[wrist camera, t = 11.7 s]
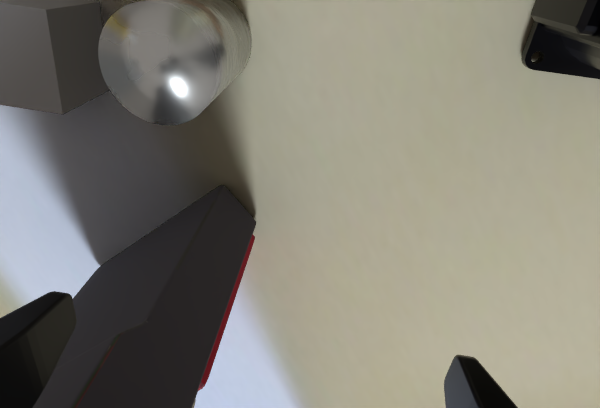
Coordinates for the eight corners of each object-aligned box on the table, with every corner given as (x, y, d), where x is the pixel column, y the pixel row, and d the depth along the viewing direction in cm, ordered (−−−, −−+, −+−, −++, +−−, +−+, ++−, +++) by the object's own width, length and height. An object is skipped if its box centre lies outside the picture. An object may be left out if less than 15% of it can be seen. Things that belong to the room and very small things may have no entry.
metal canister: (254, -3, 18) (217, 10, 13) (249, 89, 20) (215, 132, 15) (163, -15, 18) (90, -8, 13) (167, 77, 20) (105, 116, 15)
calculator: (140, 304, 28) (-39, 598, 15) (90, 260, 26) (-155, 544, 13) (267, 228, 24) (174, 539, 11) (217, 172, 22) (41, 455, 9)
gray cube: (100, 1, 19) (45, 9, 15) (109, 89, 21) (62, 114, 17) (14, -12, 19) (-60, -7, 15) (31, 77, 21) (-31, 99, 17)
